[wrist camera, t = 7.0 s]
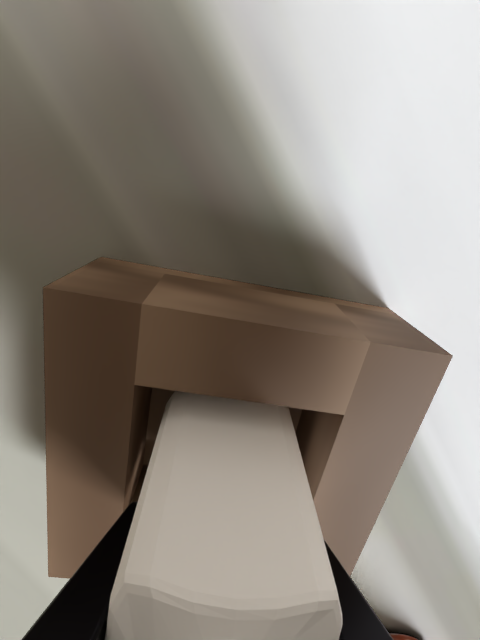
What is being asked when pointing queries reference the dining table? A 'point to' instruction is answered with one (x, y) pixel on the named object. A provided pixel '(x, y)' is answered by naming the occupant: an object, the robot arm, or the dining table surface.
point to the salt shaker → (224, 533)
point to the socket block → (222, 390)
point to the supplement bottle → (401, 637)
